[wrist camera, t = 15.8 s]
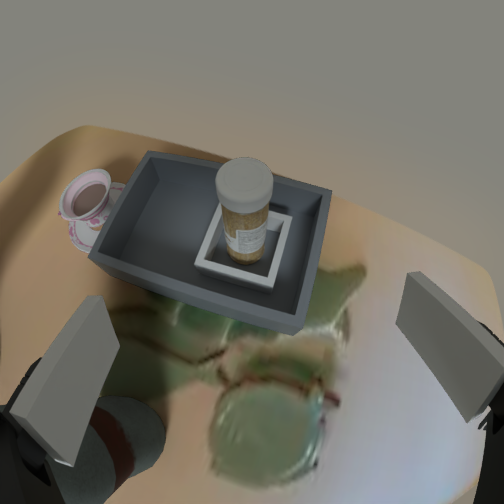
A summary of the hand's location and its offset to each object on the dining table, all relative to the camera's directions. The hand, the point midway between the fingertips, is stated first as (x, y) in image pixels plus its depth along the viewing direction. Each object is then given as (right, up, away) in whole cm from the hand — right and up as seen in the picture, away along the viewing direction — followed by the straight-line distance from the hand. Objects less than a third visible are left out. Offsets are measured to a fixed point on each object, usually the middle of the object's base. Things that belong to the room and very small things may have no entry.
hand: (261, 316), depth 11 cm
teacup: (-22, +8, +26) cm, 35 cm away
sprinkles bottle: (-1, +3, +22) cm, 23 cm away
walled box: (-5, +3, +24) cm, 24 cm away
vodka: (-14, -18, +14) cm, 27 cm away
